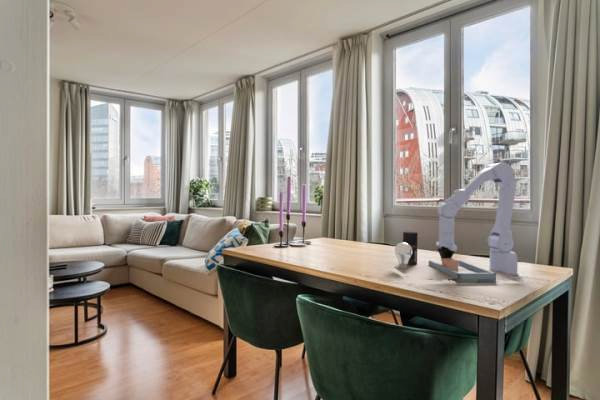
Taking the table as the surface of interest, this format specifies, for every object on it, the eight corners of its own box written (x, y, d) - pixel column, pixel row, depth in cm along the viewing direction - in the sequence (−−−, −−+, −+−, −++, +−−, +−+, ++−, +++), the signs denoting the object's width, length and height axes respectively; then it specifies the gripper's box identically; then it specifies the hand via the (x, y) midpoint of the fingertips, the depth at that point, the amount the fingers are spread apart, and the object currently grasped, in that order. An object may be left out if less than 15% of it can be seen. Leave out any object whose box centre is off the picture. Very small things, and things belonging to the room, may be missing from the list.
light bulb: (393, 272, 151) (393, 242, 151) (395, 269, 158) (395, 240, 157) (411, 274, 149) (411, 243, 148) (412, 270, 155) (413, 241, 155)
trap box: (460, 268, 161) (460, 260, 161) (496, 283, 135) (496, 273, 135) (428, 268, 160) (428, 260, 160) (457, 283, 134) (458, 273, 134)
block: (452, 269, 151) (453, 258, 151) (458, 271, 146) (458, 260, 146) (441, 269, 151) (442, 258, 151) (446, 271, 146) (447, 260, 146)
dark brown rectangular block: (414, 269, 158) (415, 233, 158) (400, 267, 161) (401, 232, 161) (418, 266, 163) (419, 232, 163) (405, 265, 166) (405, 231, 166)
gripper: (429, 230, 159) (429, 262, 159) (444, 234, 145) (444, 270, 145) (445, 230, 159) (445, 262, 160) (462, 234, 145) (461, 270, 145)
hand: (445, 266), depth 152 cm, fingers closed
